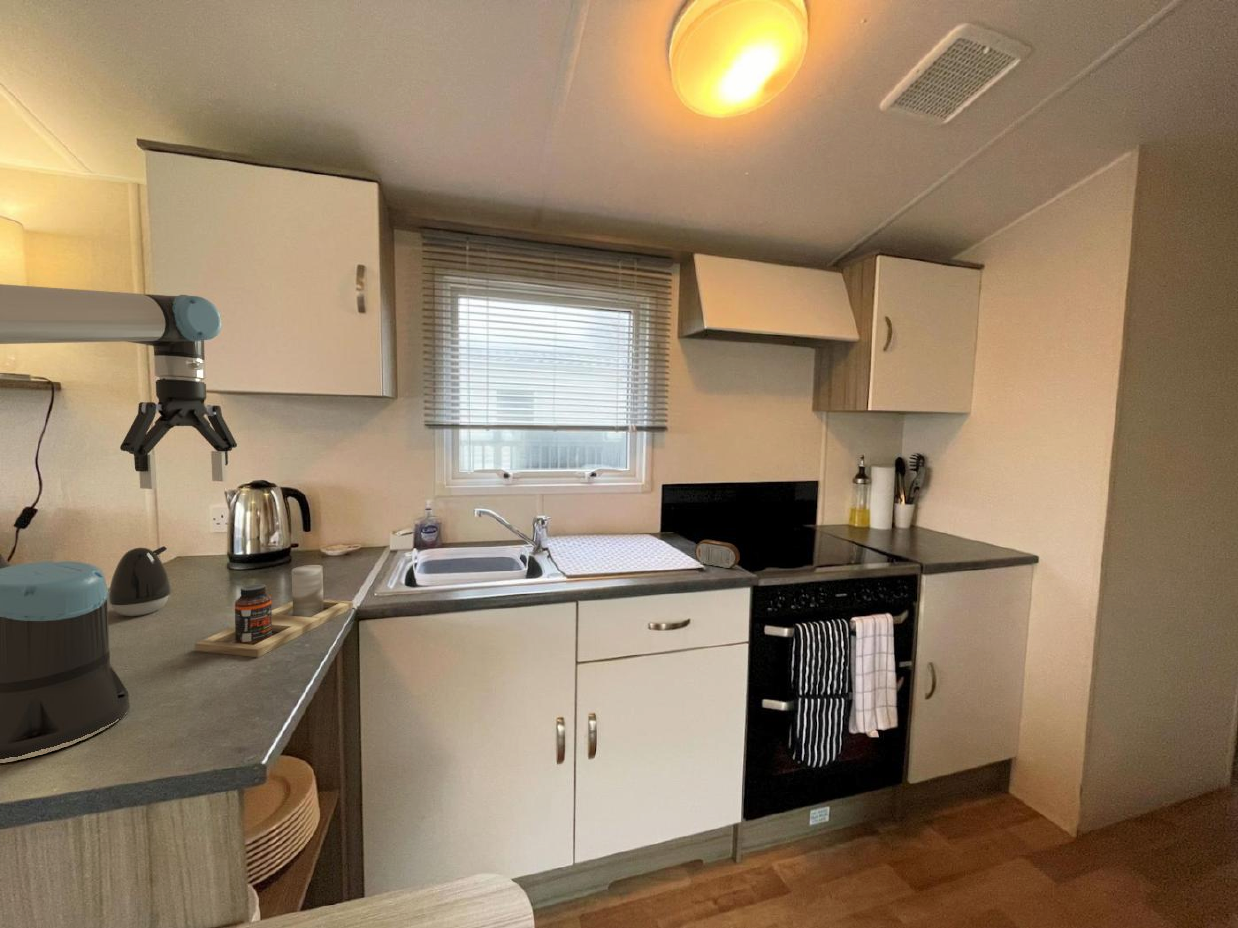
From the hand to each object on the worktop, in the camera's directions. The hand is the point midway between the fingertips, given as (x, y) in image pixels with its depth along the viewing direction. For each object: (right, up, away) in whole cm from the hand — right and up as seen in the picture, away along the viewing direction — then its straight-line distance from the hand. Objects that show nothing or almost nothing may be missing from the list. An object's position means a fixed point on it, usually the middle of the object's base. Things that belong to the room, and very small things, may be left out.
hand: (186, 484), depth 98 cm
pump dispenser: (-22, -30, +13) cm, 40 cm away
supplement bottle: (+14, -32, 0) cm, 35 cm away
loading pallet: (+15, -32, +7) cm, 36 cm away
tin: (+121, -30, +62) cm, 139 cm away
